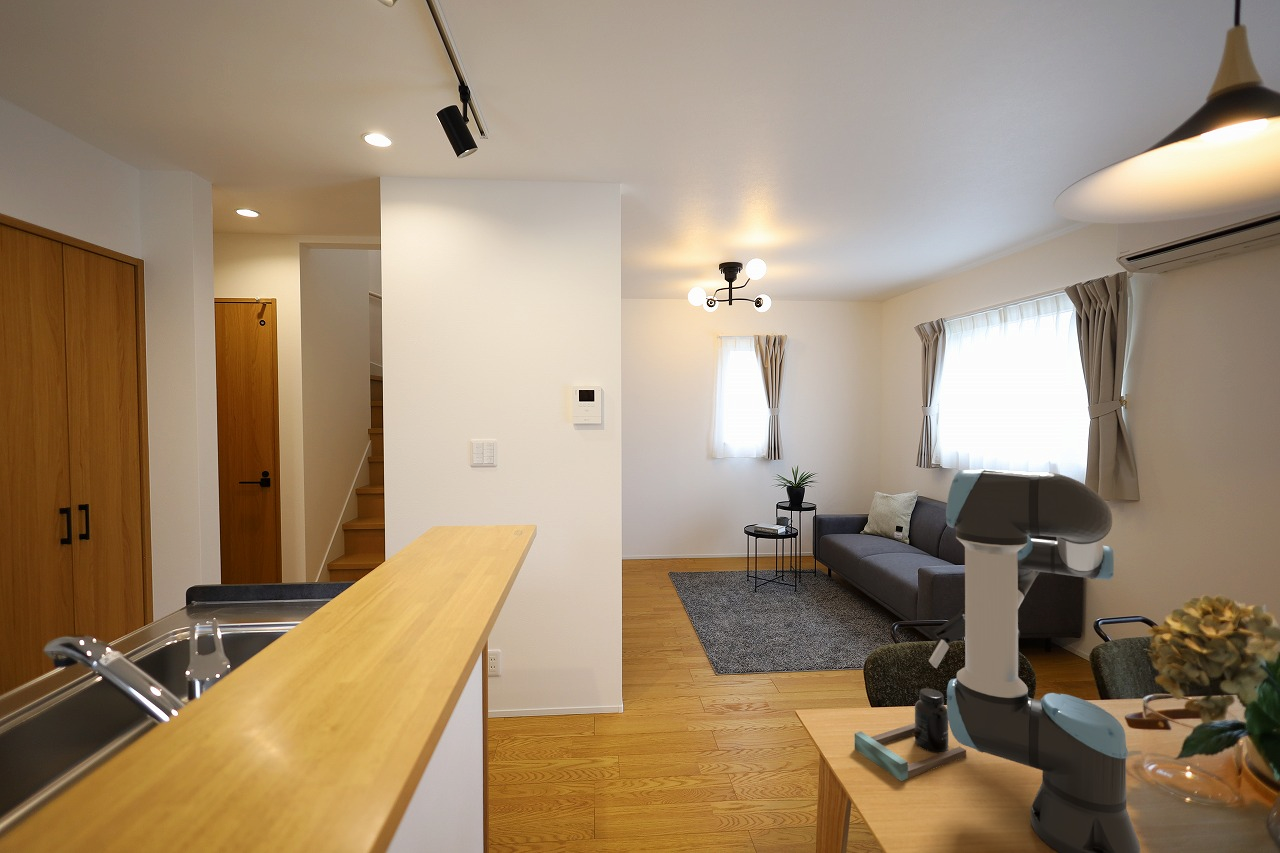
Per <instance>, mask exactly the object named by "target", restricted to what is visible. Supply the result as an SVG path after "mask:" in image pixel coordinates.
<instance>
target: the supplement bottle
mask: <svg viewBox="0 0 1280 853" xmlns="http://www.w3.org/2000/svg"><path fill="white" fill-rule="evenodd" d="M918 698H919V700H917V701H916V703H915V705H914V723H915V734H914V741H915V743H916V744H917V746H919V747H920V748H921V749H923V750H925V751H927V752H930V753H936V754H940V753H943V752H945V751H948V749H949V720H948V713H947V706H945V704H944V701H945V700H944V694H943V693H942V692H941V691H939V690H936V689H933V688H928V687H927V688H922V689H920V690H919V697H918Z"/></svg>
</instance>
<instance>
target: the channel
mask: <svg viewBox="0 0 1280 853" xmlns="http://www.w3.org/2000/svg"><path fill="white" fill-rule="evenodd" d="M913 735H914V736H915V722H913V723H911V724H907V725H904V726H900V727H898V728H895V729H892V730H888V731H886V732H883V733H879V734H875V735H873V736H869V735H867V734H866V733H864V732H863V731H858V732H855V733H854V750H856V751H857V752H858V753H860V754H862V755H863V756H864V757H866V758H867V759H868V760H870V761H871V762H873V763H874V764H876V765H877V766H878V767H880V768H881V769H883V770H884V769H885V770H884V771H885V772H887V773H888V772H889V773H888V774H890V775H891V776H893V777H894V778H895V779H897V780H899V781H900V782H902V781H906V780H907V779H910V777H911V778H913V777H916V776H919V775H920V774H923V773H927V772H928V770H929V771H931V769H932V770H934V769H933V768H935V769H937V768H939V766H940V767H942V765H943V766H945V765H948V764H950V762H951V763H953V762H956V761H958V759H959V760H961V759H963V758H967V749H965V748H963V747H962V746H961V745H960V746H957V747H954V748H951V749H949V750H948V749H947V751H945V752H942V753H936V754H935V755H932V756H929V757H926V758H923V759H921V760H919V761H918V760H917V761H915V762H912V763H909V762H908V760H906V759H904V758H903V757H901V756H899V755H898V753H897V754H896V753H895V752H894V751H892V750H890V749H889V748H887V747H886V746H885V745H886V744H889V743H892V742H896V741H898V740H901V738H902V739H904V737H905V738H907V736H908V737H911V736H913ZM955 760H956V761H955ZM936 767H937V768H936ZM926 771H927V772H926Z"/></svg>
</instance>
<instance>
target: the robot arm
mask: <svg viewBox="0 0 1280 853" xmlns="http://www.w3.org/2000/svg"><path fill="white" fill-rule="evenodd" d="M945 510H946V511H945V517H946V519H945V520H946V521H945V523H946V525H947V526H948V527H949V528H951V529H955V539H956V540H958V541H959V543H961V544H962V545H963V547H964V606H965V607H964V608H961V609H960V610H959V612H958V613H957V614H956V615H954V616H953V617H952V618H950V619H949V620H947V621H946V622H944V624H943V623H942V625H940V626H939V627H937V628H936V629H935V630H933V634H934V635H935V637H936V638H937V641H936V642H935V644H934V646H933V648H932V650H933V653H932V655H931V656H930V657H929V660H928V662H929V663H930V665H931V666H932V667H933V668H935V669H937V668H938V667H939V665H940V664H941V661H942V660H943V658H944V657H945V655H946V654H947V651H948V650H949V648H950V646H949V645H948V644H951V643H953V642H955V641H959V640H960V639H962V638H965V639H964V642H965V643H964V645H965V646H964V647H965V648H964V649H965V651H964V652H965V653H964V656H965V660H964V662H965V666H964V667H962V668H961V669H959V670H958V671H957V672H956V678H951V679H950V680H949V681H948V684H947V688H946V697H947V699H946V708H947V713H948V726H949V728H950V731H951V733H952V735H953V738H955V740H956V741H957V742H958V743H959V744H961V745H963V746H966V747H969V748H971V749H974V750H976V751H977V752H978V753H979V752H980V753H985V754H988V755H992V756H995V757H997V758H1001V759H1004V760H1008V761H1011V762H1014V763H1017V764H1021V765H1023V766H1027V767H1029V768H1030V767H1031V768H1032V769H1033V768H1034V769H1037V770H1040V771H1042V774H1041V776H1042V781H1041V784H1040V786H1039V788H1038V791H1037V793H1036V795H1035V798H1034V800H1033V802H1032V804H1031V808H1030V824H1031V827H1032V828H1033V831H1034V832H1035V834H1036V836H1038V837H1039V838H1040V839H1041V840H1042V842H1044V843H1045V844H1046V845H1047V846H1048V847H1050V848H1051V849H1053V850H1054V851H1055V852H1057V853H1141V845H1140V842H1139V838H1138V836H1137V833H1136V831H1135V830H1136V829H1134V828H1135V827H1134V825H1133V823H1132V820H1131V818H1130V813H1129V812H1128V808H1127V758H1128V756H1129V751H1128V748H1127V740H1126V739H1127V738H1126V737H1127V736H1126V731H1125V729H1124V726H1123V725H1122V723H1121V722H1120V721H1119V720H1118V719H1117V718H1116V717H1115V716H1114V715H1113V714H1111V713H1109V711H1106V710H1105V709H1104V708H1102V707H1100V706H1098V705H1096V704H1094V703H1092V702H1090V701H1089V700H1085V699H1082V698H1079V697H1078V696H1077V697H1076V696H1074V695H1070V694H1065V693H1055V692H1050V693H1046V694H1044V695H1043V696H1042V698H1041V699H1040V700H1038V699H1035V698H1032V697H1029V688H1028V686H1027V684H1025V682H1024V681H1023V680H1022V679H1021V678H1020V677H1019V670H1020V669H1021V667H1020V664H1021V663H1020V652H1019V650H1020V648H1019V639H1020V636H1021V632H1020V630H1019V624H1018V623H1019V608H1020V606H1021V604H1022V603H1023V601H1024V599H1025V597H1026V595H1027V594H1028V592H1029V590H1030V588H1031V587H1032V585H1033V583H1034V582H1035V580H1036V578H1037V577H1038V576H1039V575H1040V572H1042V573H1049V574H1050V573H1051V574H1057V575H1065V576H1072V577H1079V578H1087V579H1090V580H1105V581H1110V580H1112V579H1113V578H1114V571H1115V569H1114V568H1115V565H1114V557H1115V556H1114V550H1113V548H1112V547H1110V546H1109V545H1108V546H1106V545H1104V542H1105V541H1104V540H1105V538H1106V537H1107V536H1108V534H1110V531H1111V530H1112V526H1113V513H1112V510H1111V507H1110V506H1109V504H1108V503H1107V501H1106V500H1105V499H1104V498H1103V496H1101V495H1100V494H1099V493H1098V492H1097V491H1095V490H1094V489H1092V488H1091V487H1090V486H1088V485H1087V484H1085V483H1083V482H1081V481H1079V480H1077V479H1075V478H1072V477H1069V476H1066V475H1063V474H1059V473H1055V472H1048V471H1047V472H1046V471H1023V470H1019V471H1018V470H1006V469H1005V470H1002V469H985V468H981V469H980V468H979V469H962V470H960V471H958V472H957V473H956V474H955V475H954V477H953V478H952V482H951V484H950V486H949V492H948V496H947V502H946V508H945ZM1030 536H1039V537H1042V536H1043V537H1053V538H1056V540H1054V539H1053V540H1052V539H1051V540H1050V539H1044V538H1034V537H1033V538H1032V537H1030Z"/></svg>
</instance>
